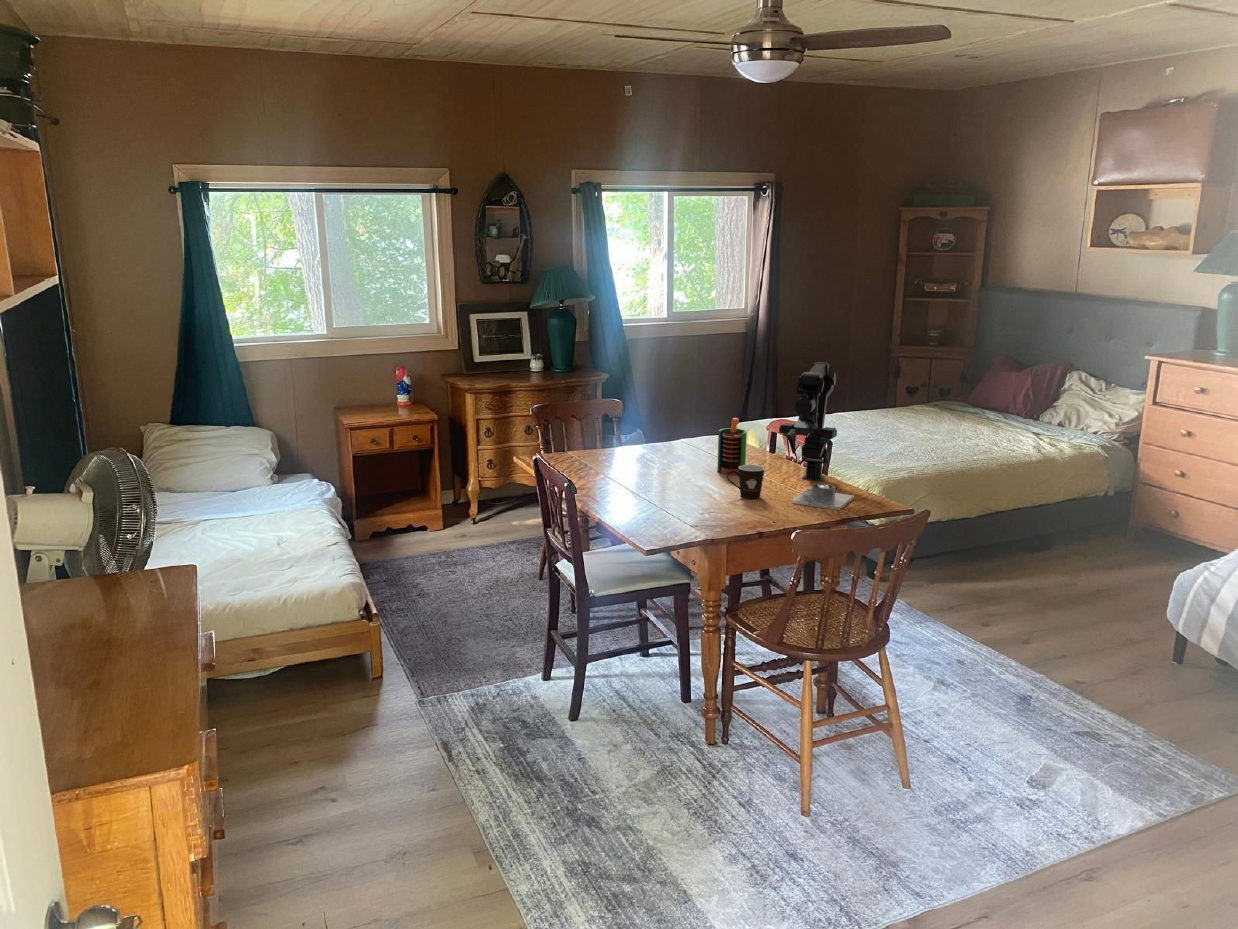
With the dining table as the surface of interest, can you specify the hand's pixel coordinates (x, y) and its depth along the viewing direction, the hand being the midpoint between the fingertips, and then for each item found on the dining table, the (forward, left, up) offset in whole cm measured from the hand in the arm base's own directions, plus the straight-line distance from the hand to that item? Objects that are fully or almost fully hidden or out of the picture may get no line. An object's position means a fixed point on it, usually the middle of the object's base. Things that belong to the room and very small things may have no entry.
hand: (806, 455), depth 323 cm
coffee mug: (+19, -14, -12) cm, 27 cm away
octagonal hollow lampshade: (+11, +10, -11) cm, 18 cm away
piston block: (+11, +10, -12) cm, 19 cm away
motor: (-9, -31, -12) cm, 35 cm away
